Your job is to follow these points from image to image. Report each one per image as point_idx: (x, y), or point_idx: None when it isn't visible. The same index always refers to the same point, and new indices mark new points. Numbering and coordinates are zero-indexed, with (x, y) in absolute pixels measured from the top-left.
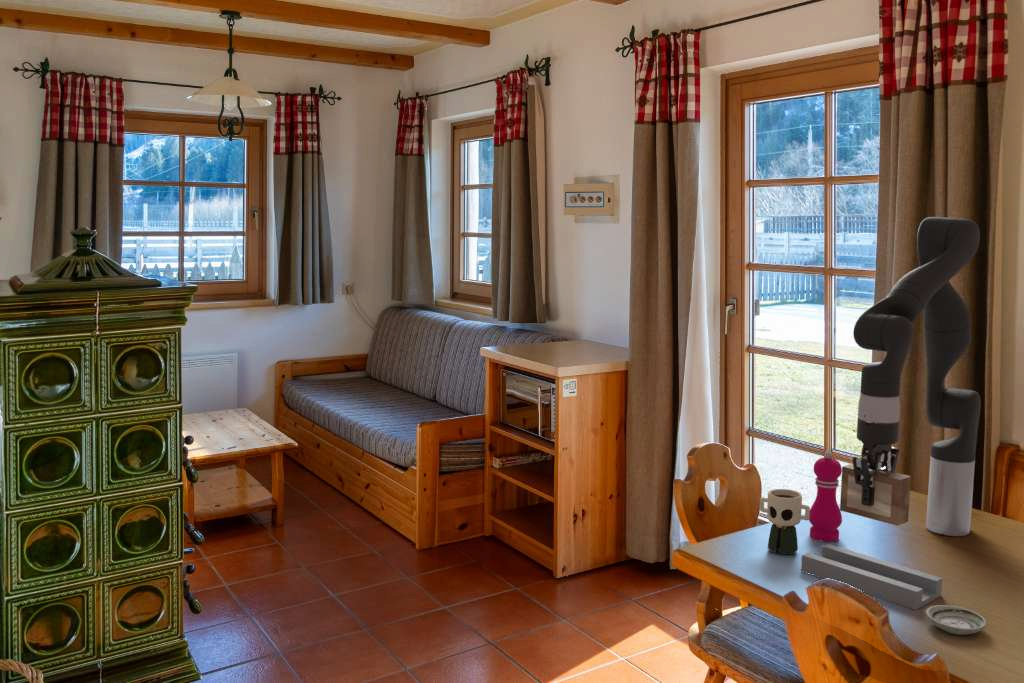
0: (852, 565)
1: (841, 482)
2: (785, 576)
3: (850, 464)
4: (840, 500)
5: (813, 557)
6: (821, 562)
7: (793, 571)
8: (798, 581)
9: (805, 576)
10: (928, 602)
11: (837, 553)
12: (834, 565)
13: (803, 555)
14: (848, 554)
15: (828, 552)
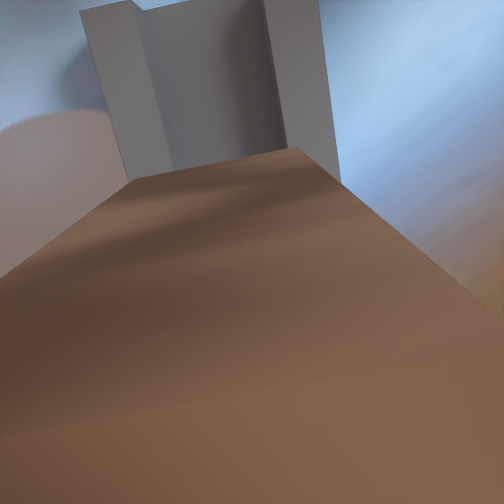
0: (282, 135)
1: (24, 262)
2: (10, 28)
3: (277, 423)
4: (110, 197)
5: (109, 64)
6: (112, 117)
7: (76, 4)
8: (28, 95)
9: (87, 71)
10: None
11: (272, 61)
12: (128, 179)
13: (83, 18)
14: (282, 116)
15: (264, 13)
